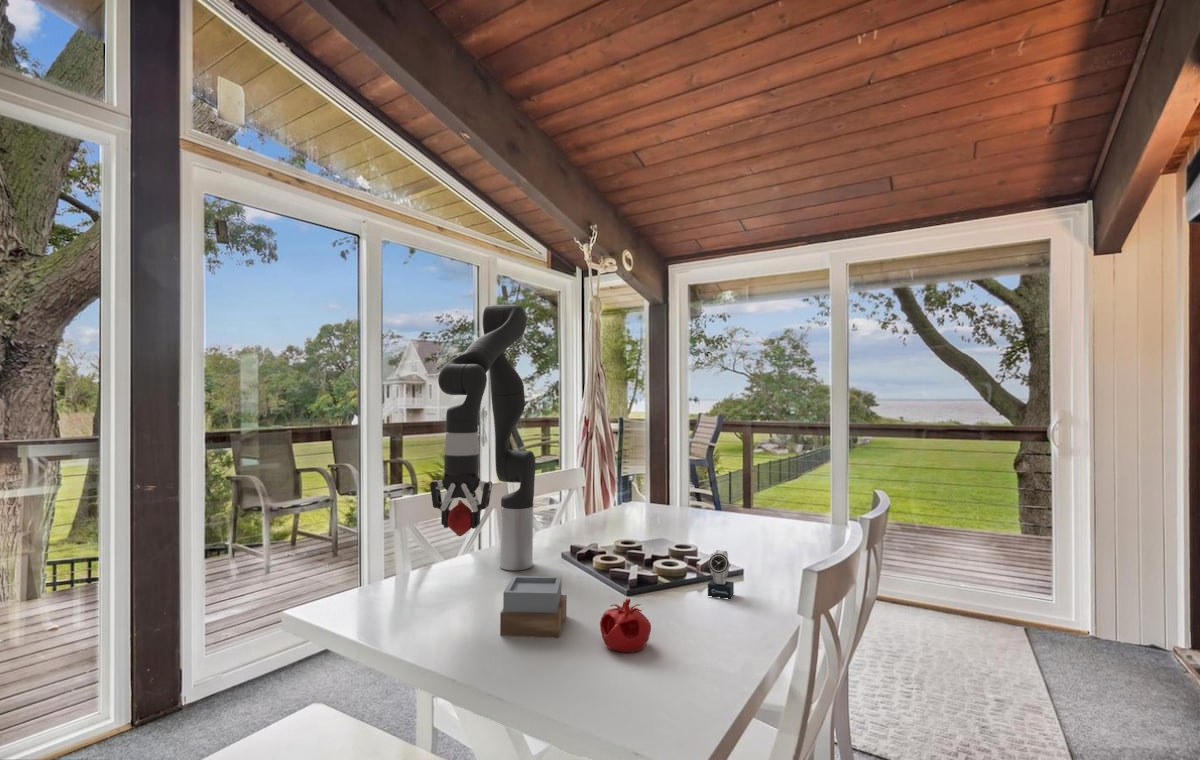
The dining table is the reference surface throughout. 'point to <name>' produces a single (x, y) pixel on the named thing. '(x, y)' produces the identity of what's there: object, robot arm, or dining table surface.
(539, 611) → the top block
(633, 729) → the dining table surface
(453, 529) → the onion
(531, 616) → the bottom block
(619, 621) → the pomegranate
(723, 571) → the watch
